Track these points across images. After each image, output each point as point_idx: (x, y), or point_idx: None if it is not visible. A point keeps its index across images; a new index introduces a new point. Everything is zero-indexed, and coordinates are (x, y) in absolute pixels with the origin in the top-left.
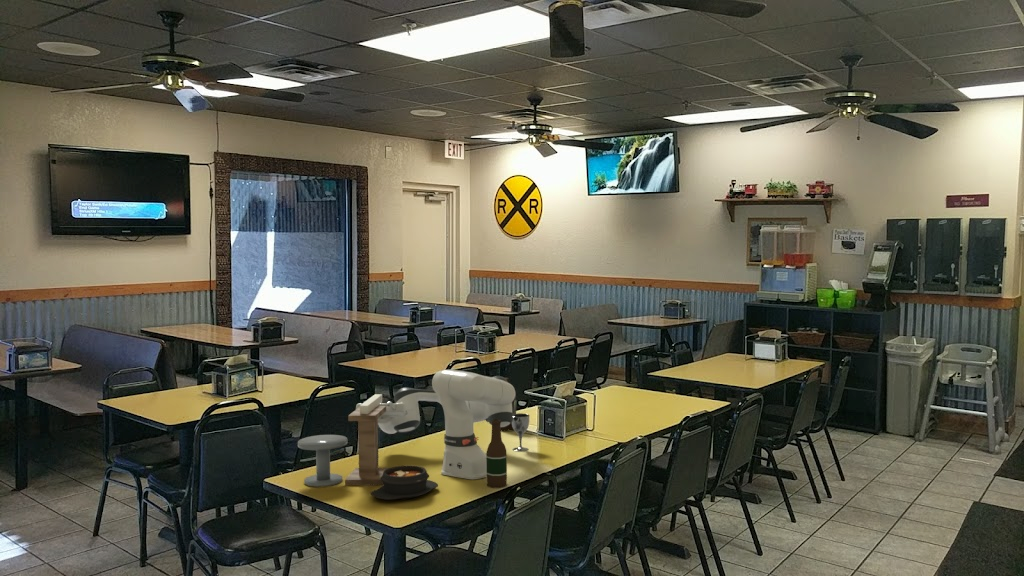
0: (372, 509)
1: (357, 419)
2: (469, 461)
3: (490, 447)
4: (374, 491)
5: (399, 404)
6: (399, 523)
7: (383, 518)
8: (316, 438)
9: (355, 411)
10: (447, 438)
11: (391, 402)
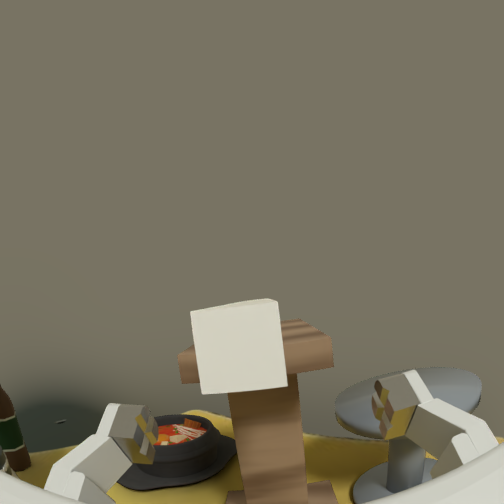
0: (231, 431)
1: None
2: (11, 468)
3: (7, 396)
4: (234, 447)
5: (10, 477)
6: (192, 413)
7: (212, 418)
8: (444, 389)
9: (300, 324)
10: (4, 455)
11: (105, 417)
